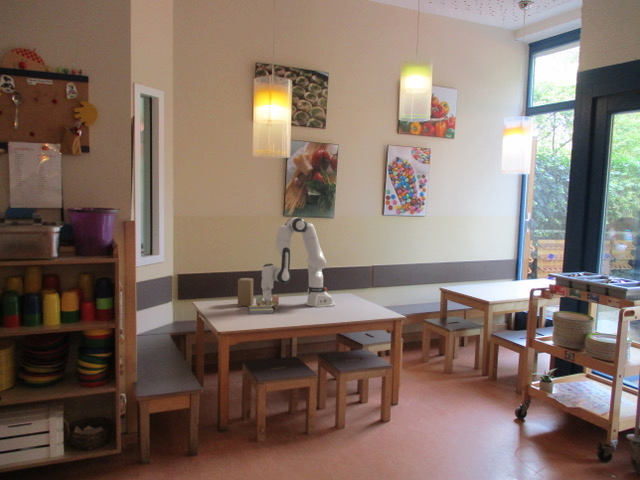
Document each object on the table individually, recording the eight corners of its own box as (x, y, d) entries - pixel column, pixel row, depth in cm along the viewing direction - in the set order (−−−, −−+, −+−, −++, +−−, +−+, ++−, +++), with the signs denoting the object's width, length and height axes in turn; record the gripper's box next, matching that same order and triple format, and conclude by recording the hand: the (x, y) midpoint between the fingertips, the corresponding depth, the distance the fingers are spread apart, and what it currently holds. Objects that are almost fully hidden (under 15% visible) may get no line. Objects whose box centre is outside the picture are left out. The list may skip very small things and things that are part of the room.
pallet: (277, 306, 367) (277, 300, 366) (278, 308, 362) (278, 301, 361) (256, 307, 363) (256, 300, 363) (256, 309, 358) (256, 302, 357)
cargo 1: (261, 300, 363) (261, 295, 363) (262, 302, 359) (262, 296, 359) (256, 301, 362) (256, 295, 362) (256, 302, 358) (256, 296, 358)
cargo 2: (277, 300, 366) (277, 295, 365) (278, 301, 362) (278, 296, 361) (272, 300, 365) (272, 295, 364) (273, 301, 361) (273, 296, 360)
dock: (270, 309, 358) (270, 305, 358) (273, 313, 346) (273, 309, 346) (248, 310, 354) (248, 305, 354) (250, 314, 343) (250, 309, 342)
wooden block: (253, 303, 375) (253, 278, 373) (250, 306, 365) (250, 280, 363) (240, 303, 376) (241, 277, 374) (237, 306, 366) (237, 279, 364)
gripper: (273, 288, 351) (273, 307, 352) (269, 283, 371) (268, 301, 372) (265, 288, 350) (264, 307, 351) (261, 283, 369) (260, 301, 370)
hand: (266, 304), depth 361 cm, fingers open, 7 cm apart
